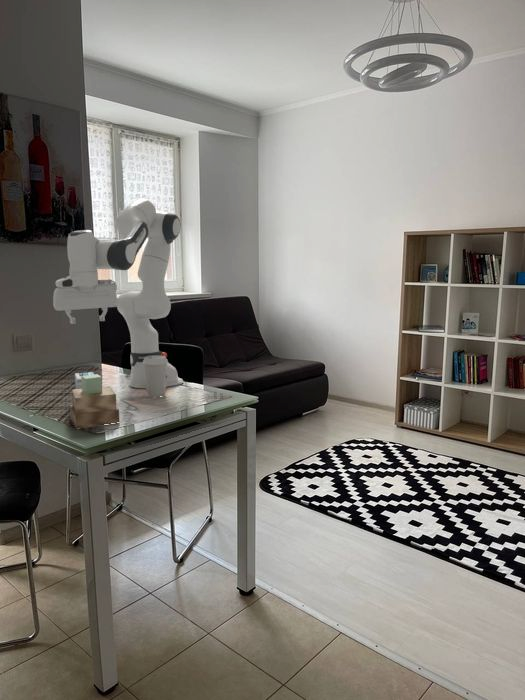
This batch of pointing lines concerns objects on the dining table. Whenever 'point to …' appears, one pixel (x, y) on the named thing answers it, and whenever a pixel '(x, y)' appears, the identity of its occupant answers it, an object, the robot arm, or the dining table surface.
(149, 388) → the coffee cup
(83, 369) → the dining table surface
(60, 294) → the robot arm
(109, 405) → the oak top block
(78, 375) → the light bulb box
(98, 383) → the sage block
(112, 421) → the walnut base block
